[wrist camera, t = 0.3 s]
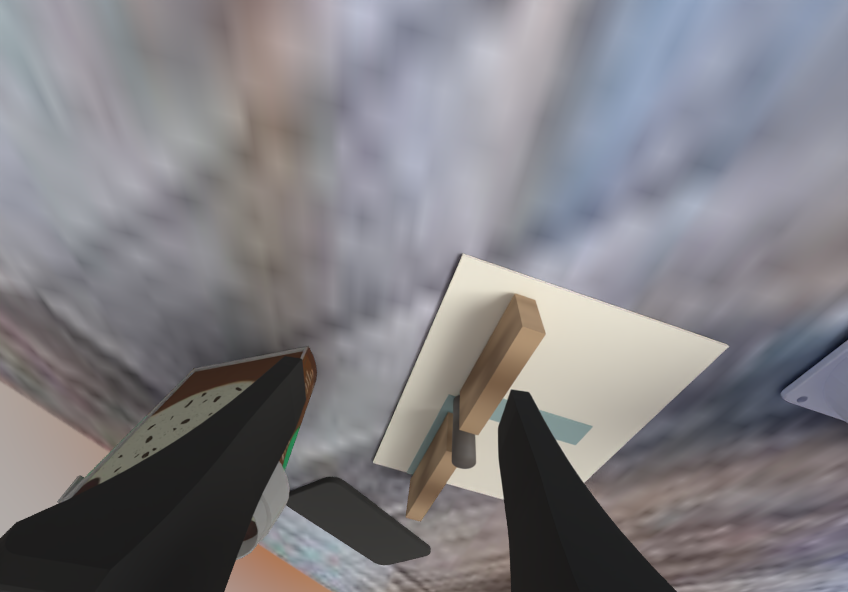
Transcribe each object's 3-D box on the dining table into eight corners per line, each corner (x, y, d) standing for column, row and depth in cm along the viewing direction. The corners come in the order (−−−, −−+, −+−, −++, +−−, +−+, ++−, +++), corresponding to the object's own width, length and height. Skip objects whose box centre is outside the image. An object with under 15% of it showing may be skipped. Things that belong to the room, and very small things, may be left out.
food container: (225, 426, 29) (127, 572, 21) (177, 371, 26) (40, 515, 18) (364, 406, 26) (317, 566, 18) (328, 342, 23) (251, 497, 15)
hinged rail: (469, 411, 25) (470, 471, 21) (450, 405, 25) (447, 465, 21) (537, 300, 20) (554, 354, 16) (513, 292, 19) (524, 345, 16)
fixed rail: (448, 412, 25) (446, 450, 22) (464, 416, 25) (464, 455, 22) (410, 479, 30) (405, 517, 27) (424, 483, 30) (420, 521, 27)
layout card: (726, 344, 20) (730, 347, 20) (551, 510, 31) (551, 514, 31) (462, 253, 19) (462, 255, 19) (373, 460, 30) (372, 463, 29)
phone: (380, 567, 39) (277, 500, 34) (381, 558, 40) (281, 492, 34) (435, 554, 37) (333, 479, 31) (435, 545, 37) (336, 470, 31)
